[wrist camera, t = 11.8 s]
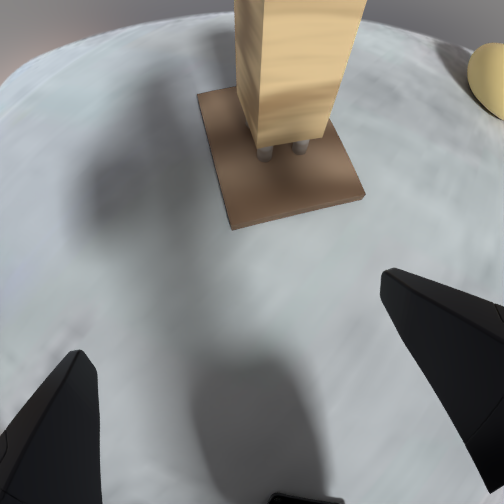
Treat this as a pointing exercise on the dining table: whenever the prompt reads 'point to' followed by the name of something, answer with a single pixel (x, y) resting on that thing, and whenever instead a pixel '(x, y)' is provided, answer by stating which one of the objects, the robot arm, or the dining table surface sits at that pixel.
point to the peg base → (273, 167)
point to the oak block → (292, 64)
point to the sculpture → (488, 77)
